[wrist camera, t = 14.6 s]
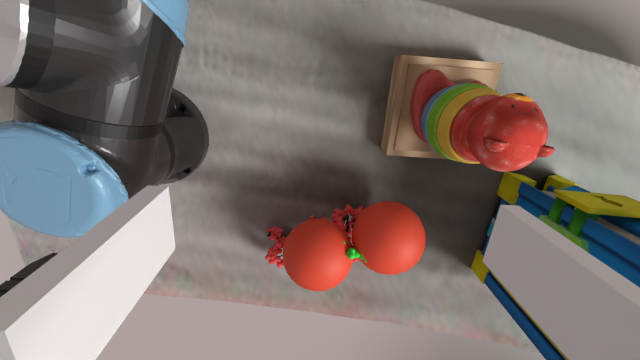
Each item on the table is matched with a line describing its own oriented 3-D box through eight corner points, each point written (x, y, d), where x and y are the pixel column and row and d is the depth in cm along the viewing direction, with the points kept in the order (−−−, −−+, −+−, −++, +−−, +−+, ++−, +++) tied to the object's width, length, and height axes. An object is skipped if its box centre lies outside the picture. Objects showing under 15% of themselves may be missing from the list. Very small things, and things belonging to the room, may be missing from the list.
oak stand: (380, 148, 49) (386, 155, 45) (394, 55, 44) (403, 54, 40) (463, 153, 50) (477, 161, 46) (486, 63, 45) (504, 63, 41)
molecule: (394, 167, 51) (428, 208, 36) (408, 221, 54) (444, 278, 40) (255, 213, 53) (236, 269, 38) (279, 262, 57) (269, 330, 42)
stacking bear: (492, 85, 42) (613, 100, 25) (463, 153, 46) (552, 205, 29) (420, 65, 41) (497, 67, 24) (396, 137, 44) (448, 182, 28)
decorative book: (571, 170, 52) (879, 296, 24) (524, 279, 60) (712, 468, 32) (492, 162, 51) (717, 284, 23) (455, 274, 59) (587, 465, 31)
